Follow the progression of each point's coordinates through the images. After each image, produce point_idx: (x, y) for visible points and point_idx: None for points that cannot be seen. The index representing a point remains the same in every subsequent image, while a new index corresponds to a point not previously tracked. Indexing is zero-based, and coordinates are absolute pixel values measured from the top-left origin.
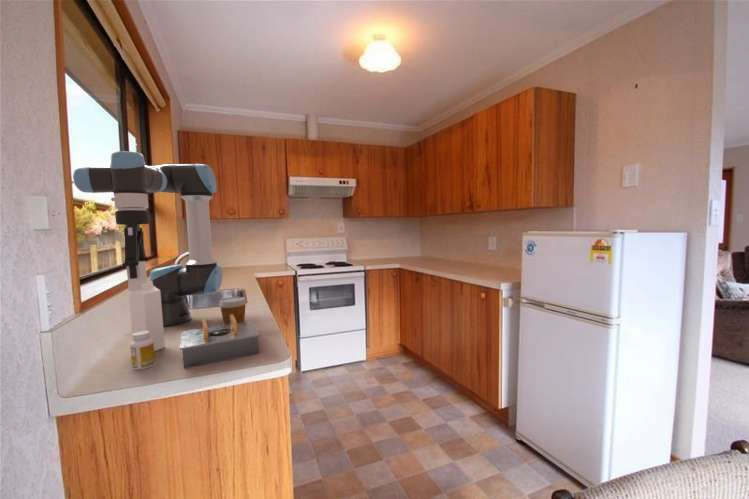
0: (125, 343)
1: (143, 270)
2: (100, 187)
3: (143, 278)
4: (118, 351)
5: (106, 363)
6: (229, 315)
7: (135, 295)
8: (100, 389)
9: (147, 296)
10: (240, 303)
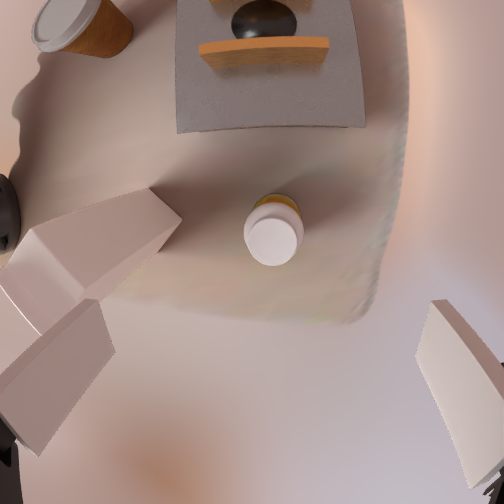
0: None
1: (49, 366)
2: None
3: (83, 333)
4: (136, 285)
5: (207, 296)
6: (105, 23)
7: None
8: (364, 279)
9: (80, 268)
10: None
